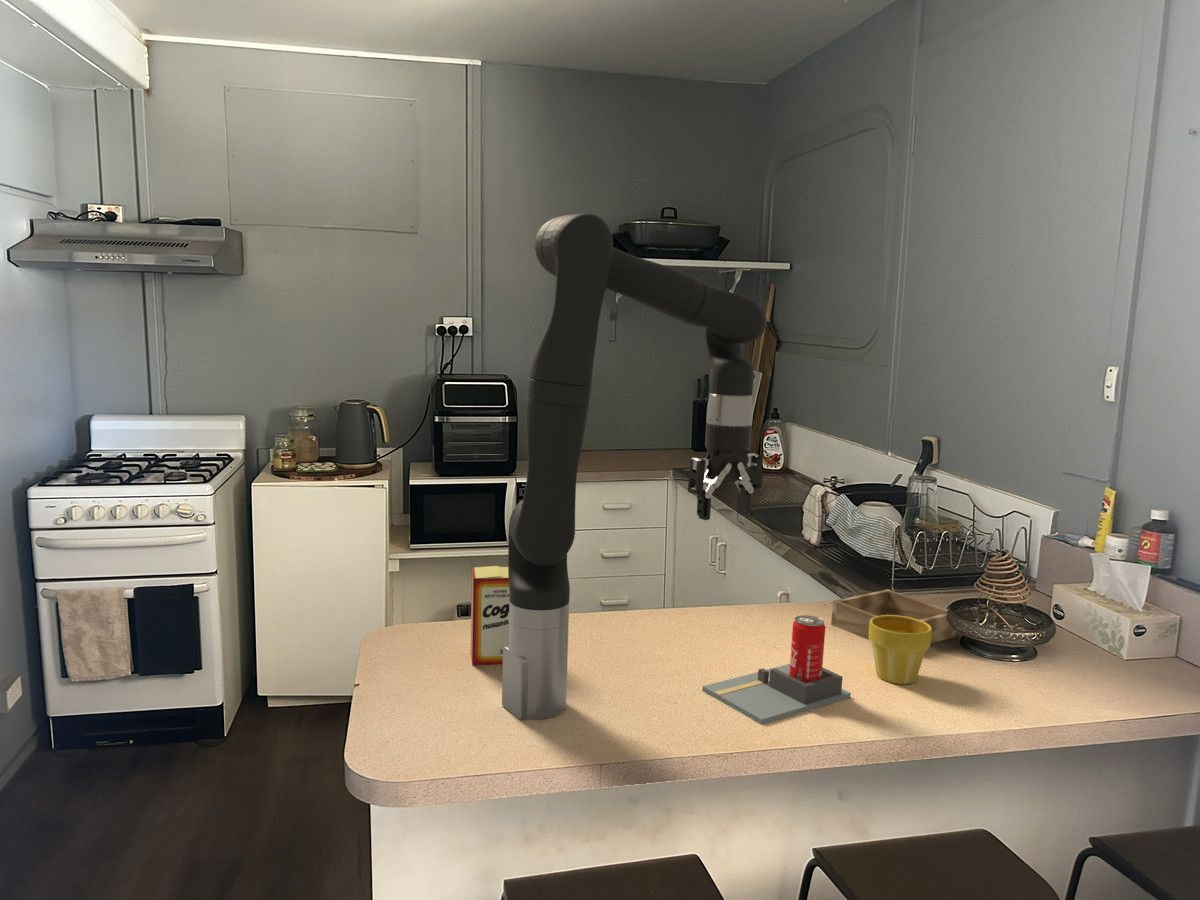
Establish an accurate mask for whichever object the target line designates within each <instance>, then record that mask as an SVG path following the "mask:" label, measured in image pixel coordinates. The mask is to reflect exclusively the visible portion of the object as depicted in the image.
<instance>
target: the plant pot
mask: <svg viewBox="0 0 1200 900" xmlns="http://www.w3.org/2000/svg"><path fill="white" fill-rule="evenodd" d="M931 637H932V628H931V626H930V625H929V624H927V623H925V622H923V621H921V620H918V619H915V618H911V617H906V616H898V615H889V614H884V615H879V616H875V617H873V618H871V619H870V622H869V641H870V642H871V644H872V651H873V658H874V665H875V671H876V676H877V677H878V678H879V679H881V680H882V681H884V682H888V683H890V684H895V685H896V684H897V685H910V684H914V683H915V682H916V681H917V679H918V675H919V672H920V670H921V669H920V668H921V666H922V663H923V661H924V657H925V653H926V651H927V650H928V649H930V647H931V644H932V643H931Z"/></svg>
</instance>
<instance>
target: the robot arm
mask: <svg viewBox="0 0 1200 900" xmlns="http://www.w3.org/2000/svg"><path fill="white" fill-rule="evenodd" d="M534 250H535V255H536V258H537V260H538V262H539V264H540V265H541V267H542V268H543V269H544V270H545V271H546V272H548V273H549V274H550V275H552V276H554V277H555V278H556V279H555V282H556V283H555V293H554V302H553V307H552V312H551V315H550V319H549V322H548V324H547V326H546V328H545V331H544V333H543V336H542V338H541V339H540V342H539V344H538V347H537V349H536V350H535V354H534V356H533V359H532V362H531V365H530V370H529V379H528V385H527V395H526V405H525V406H526V407H525V408H526V409H525V428H526V429H525V432H526V433H525V435H526V446H527V447H526V449H527V475H526V482H525V487H524V493H523V499H521V500H520V501H519V502H518V503H517V504H516V505H515V507H514V508H513V510H512V511H511V515H510V517H509V523H508V540H507V542H508V549H507V550H508V555H507V556H508V558H507V559H508V562H507V563H508V566H507V567H508V578H509V642H508V646H507V647H504V648H503V664H502V683H501V684H502V687H501V688H502V691H501V706H503V708H505V709H506V710H507V711H509V712H510V713H511V714H512V715H514V716H515V717H516V718H518V719H519V720H525V719H548V718H551V717H552V718H553V717H556V716H558V715H560V714H562V713H563V712H565V710H566V708H567V694H568V693H567V683H568V682H567V681H568V655H569V654H568V653H569V652H568V651H569V650H568V649H569V627H570V626H569V625H570V623H569V622H570V595H571V593H570V591H571V586H570V580H569V579H570V578H569V573H568V571H569V570H568V553H569V552H570V550H571V548H572V547H573V543H574V541H575V538H576V537H575V535H576V491H577V490H576V489H577V477H578V469H579V464H580V459H581V455H582V454H581V453H582V449H583V444H584V438H585V431H586V426H587V420H588V414H589V407H590V400H591V391H592V384H593V383H592V382H593V371H594V363H595V357H596V356H595V354H596V347H597V341H598V330H599V322H600V315H601V311H602V305H603V301H604V297H605V293H606V290H608V291H611V292H614V293H617V294H619V295H621V296H624V297H626V298H629V299H631V300H633V301H635V302H638V303H640V304H641V305H644V306H647V307H648V308H650V309H653V310H655V311H657V312H659V313H662V314H664V315H666V316H668V317H671V318H673V319H675V320H677V321H680V322H682V323H685V324H687V325H691V326H693V327H703V328H704V338H705V344H706V349H707V356H708V359H709V363H710V375H709V376H710V378H709V394H708V395H709V397H708V400H707V407H706V421H705V422H706V425H705V439H704V440H705V441H704V446H705V448H706V456H705V457H704V458H700V457H696V456H693V457H691V458H690V463H689V473H688V482H687V492H688V493H689V494H690V493H691V494H693V495H695V496H696V497H697V500H696V501H697V503H696V515H697V517H698V519H699V520H703V521H710V519H711V507H712V498H711V496H712V495H713V493H714V491H715V490H716V489H718V488H719V487H720V485H721V484H725V483H728V482H732V483H734V484H735V485H736V487H737V489H738V492H737V503H736V513H737V515H740V516H748V515H749V513H750V511H751V502H752V494H753V493H754V491H756V490H761V488H762V486H763V485H762V483H763V482H762V481H763V456H762V455H761V454H757V453H754V452H753V453H752V452H749V451H750V450H751V448H752V447H751V445H752V432H753V414H754V405H753V403H754V402H753V390H754V389H753V388H754V375H755V374H754V373H755V372H754V364H753V363H752V362H751V360H749V359H747V358H745V357H744V356H743V354H742V348H741V345H743V344H751V343H754V342H756V341H757V340H758V339H760V338H761V336H763V334H764V333H765V330H766V327H767V317H766V314H765V312H764V309H763V308H762V306H760V305H759V304H758V303H757V302H756V301H754V300H752V299H751V298H748V297H746V296H743V295H741V294H737V293H734V292H731V291H728V290H726V289H721V288H718V287H715V286H712V285H710V284H708V283H706V282H704V281H703V280H700V279H699V278H696V277H694V276H692V275H690V274H687V273H686V272H683V271H681V270H679V269H676V268H674V267H671V266H667V265H665V264H662V263H658V262H655V261H651V260H649V259H645V258H641V257H638V256H635V255H633V254H630V253H627V252H625V251H623V250H620V249H618V248H616V247H614V239H613V236H612V233H611V229H610V228H609V225H608V224H607V223H606V222H605V220H604V219H602V218H601V217H600V216H598V215H597V214H593V213H583V212H581V213H575V214H574V213H571V214H565V215H560V216H557V217H554V218H551V219H550V220H548V221H547V222H545V223H544V224H542V226H541V227H540V228H539V230H538V232H537V234H536V236H535V241H534ZM748 452H749V453H748Z"/></svg>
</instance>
